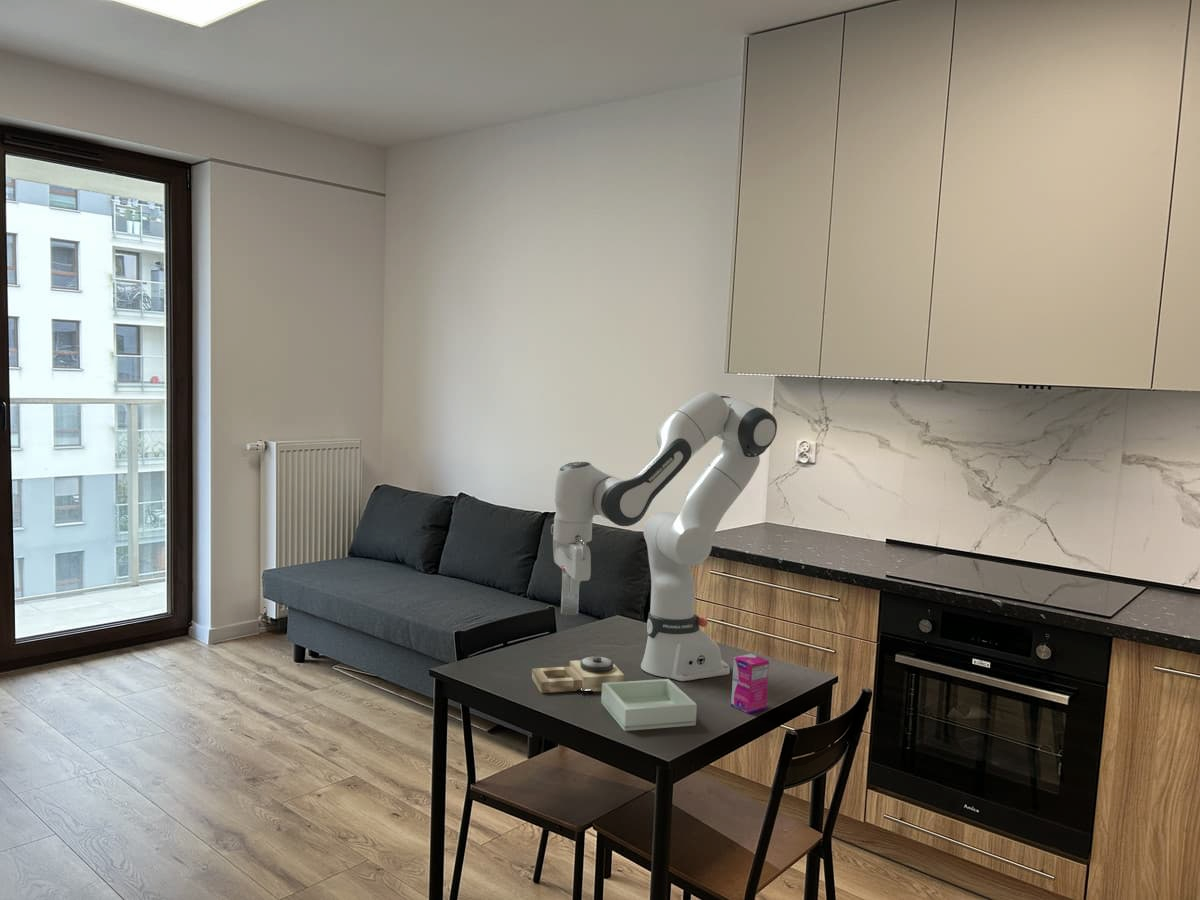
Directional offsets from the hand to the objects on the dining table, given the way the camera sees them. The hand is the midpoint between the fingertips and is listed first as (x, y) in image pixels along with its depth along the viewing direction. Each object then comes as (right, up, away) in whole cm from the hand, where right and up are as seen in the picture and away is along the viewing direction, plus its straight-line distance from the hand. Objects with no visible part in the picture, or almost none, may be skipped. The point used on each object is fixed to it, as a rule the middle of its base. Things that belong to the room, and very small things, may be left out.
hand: (570, 591), depth 202 cm
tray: (+17, -25, -12) cm, 32 cm away
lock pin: (0, -5, 0) cm, 5 cm away
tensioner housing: (+1, -23, +5) cm, 23 cm away
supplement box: (+40, -26, -6) cm, 48 cm away
